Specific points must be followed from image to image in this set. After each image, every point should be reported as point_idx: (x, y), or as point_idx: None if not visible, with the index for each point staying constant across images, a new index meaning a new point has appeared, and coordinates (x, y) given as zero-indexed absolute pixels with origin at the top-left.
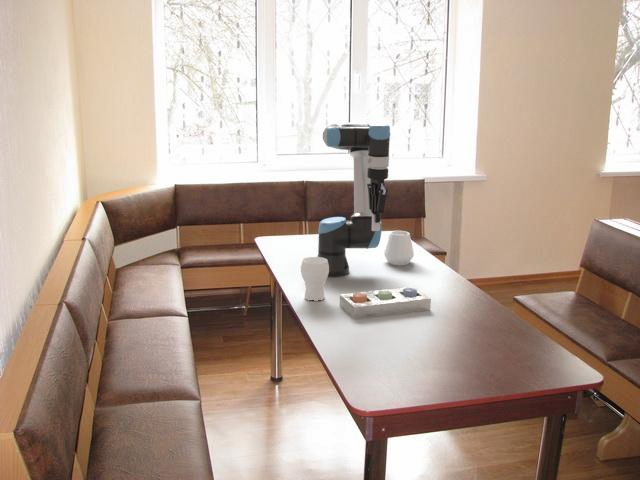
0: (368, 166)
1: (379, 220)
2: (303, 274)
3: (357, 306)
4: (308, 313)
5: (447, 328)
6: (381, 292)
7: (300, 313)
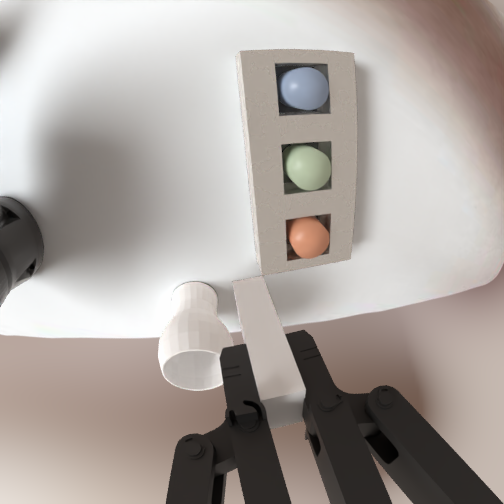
0: None
1: (314, 346)
2: (212, 364)
3: (350, 252)
4: (282, 315)
5: (430, 86)
6: (304, 179)
7: None
